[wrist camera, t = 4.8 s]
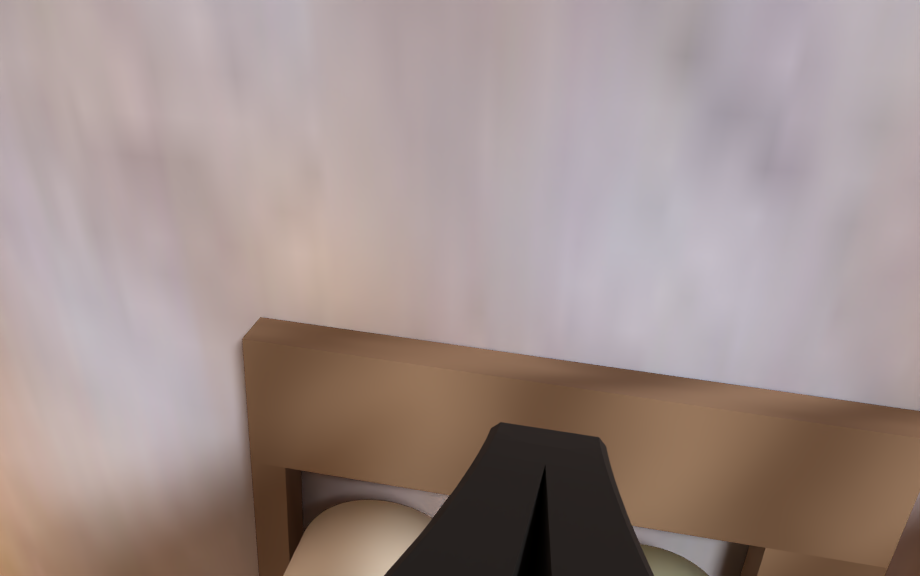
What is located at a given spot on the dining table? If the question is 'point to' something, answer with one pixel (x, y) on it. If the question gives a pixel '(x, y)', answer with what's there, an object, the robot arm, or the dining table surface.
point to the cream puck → (356, 539)
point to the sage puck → (670, 563)
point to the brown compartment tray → (588, 413)
